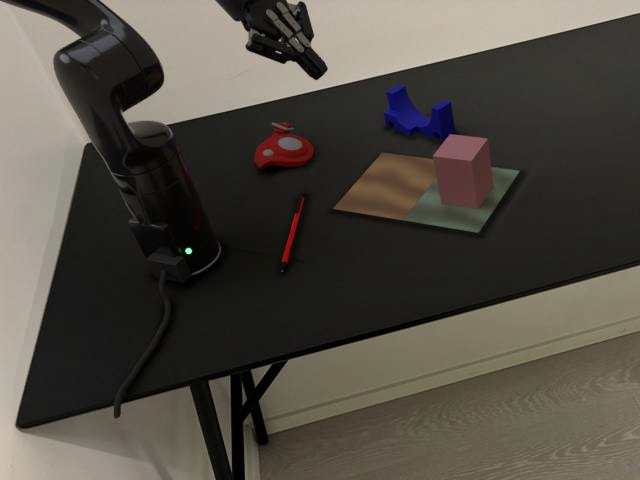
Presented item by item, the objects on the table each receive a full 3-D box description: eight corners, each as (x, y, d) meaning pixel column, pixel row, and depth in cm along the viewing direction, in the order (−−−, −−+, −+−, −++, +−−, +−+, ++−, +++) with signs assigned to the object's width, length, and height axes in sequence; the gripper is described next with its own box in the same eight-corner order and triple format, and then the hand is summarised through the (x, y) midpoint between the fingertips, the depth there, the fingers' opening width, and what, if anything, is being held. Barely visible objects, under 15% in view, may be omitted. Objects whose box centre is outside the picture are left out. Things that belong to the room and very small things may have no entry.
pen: (307, 195, 130) (305, 189, 130) (286, 273, 117) (283, 267, 116) (301, 196, 130) (300, 190, 130) (279, 274, 117) (277, 268, 116)
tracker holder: (326, 150, 137) (272, 163, 131) (324, 173, 140) (270, 186, 135) (287, 111, 142) (233, 122, 137) (286, 133, 145) (233, 145, 140)
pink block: (478, 209, 121) (471, 160, 116) (441, 203, 123) (432, 156, 118) (493, 186, 125) (488, 138, 119) (457, 181, 127) (449, 133, 122)
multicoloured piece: (479, 235, 118) (478, 232, 117) (333, 211, 126) (332, 208, 126) (520, 173, 128) (520, 170, 127) (382, 155, 136) (382, 152, 136)
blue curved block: (386, 128, 142) (379, 95, 138) (405, 116, 144) (399, 84, 140) (437, 148, 136) (431, 114, 132) (456, 135, 138) (450, 101, 134)
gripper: (247, -24, 121) (334, 69, 126) (189, 12, 113) (284, 111, 117) (269, -60, 116) (359, 40, 120) (210, -25, 107) (309, 81, 112)
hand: (322, 75), depth 119 cm, fingers closed
